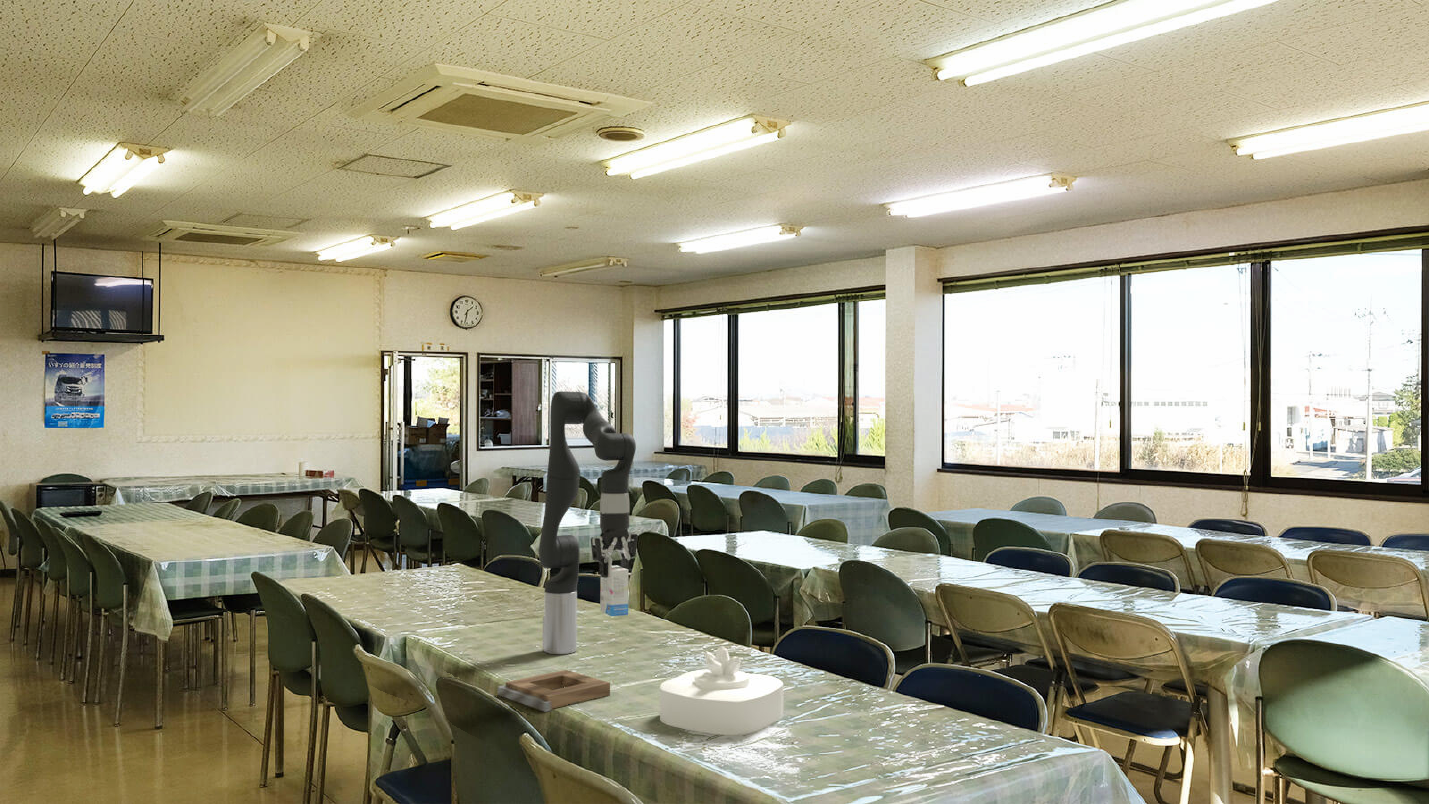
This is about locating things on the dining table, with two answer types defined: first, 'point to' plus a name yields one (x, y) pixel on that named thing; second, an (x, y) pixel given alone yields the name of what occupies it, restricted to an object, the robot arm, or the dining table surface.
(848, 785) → the dining table surface
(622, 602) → the ink box
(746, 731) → the tissue box
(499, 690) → the frame
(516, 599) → the dining table surface
